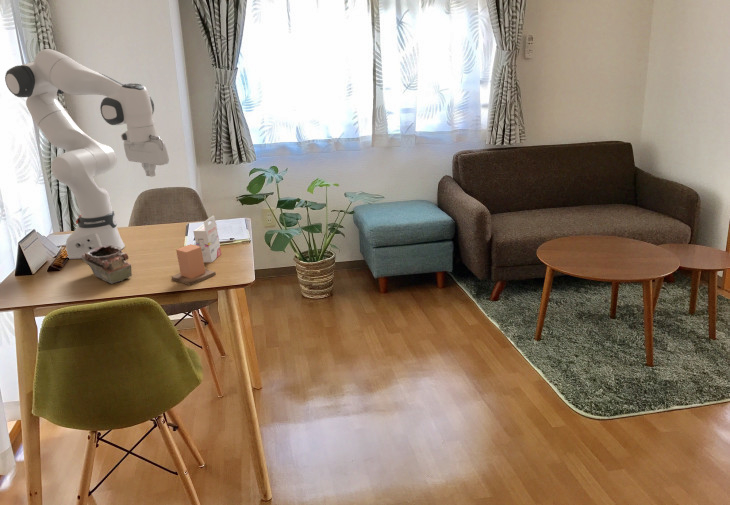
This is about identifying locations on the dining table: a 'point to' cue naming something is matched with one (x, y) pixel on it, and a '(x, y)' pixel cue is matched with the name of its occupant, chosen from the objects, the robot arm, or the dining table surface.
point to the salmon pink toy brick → (190, 261)
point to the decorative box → (108, 263)
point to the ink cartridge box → (208, 240)
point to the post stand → (193, 280)
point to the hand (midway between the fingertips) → (150, 176)
